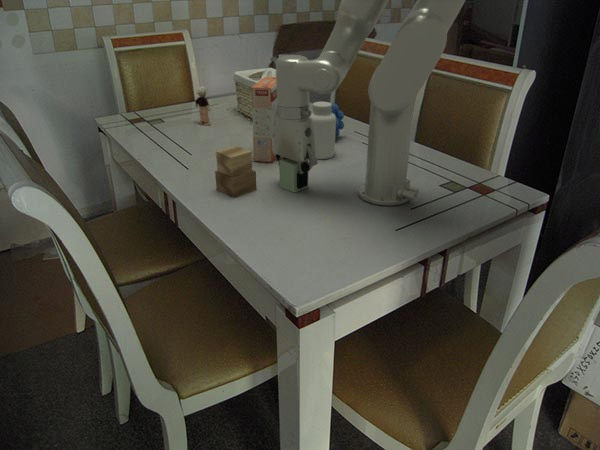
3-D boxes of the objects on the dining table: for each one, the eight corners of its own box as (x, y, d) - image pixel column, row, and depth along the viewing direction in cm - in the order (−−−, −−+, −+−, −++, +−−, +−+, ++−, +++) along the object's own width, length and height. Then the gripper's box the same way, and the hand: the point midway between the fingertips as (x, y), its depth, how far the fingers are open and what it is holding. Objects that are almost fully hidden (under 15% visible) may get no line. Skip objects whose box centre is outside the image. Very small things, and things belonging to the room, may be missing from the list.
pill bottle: (326, 161, 142) (327, 108, 135) (301, 156, 146) (302, 104, 139) (339, 153, 148) (341, 102, 141) (315, 148, 152) (316, 98, 145)
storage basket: (233, 110, 190) (231, 70, 184) (272, 105, 197) (271, 66, 191) (260, 127, 172) (259, 83, 165) (302, 120, 179) (302, 78, 172)
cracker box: (274, 163, 141) (272, 87, 132) (253, 162, 142) (249, 86, 133) (285, 147, 153) (284, 76, 144) (266, 146, 154) (263, 75, 145)
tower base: (256, 190, 125) (255, 171, 123) (234, 198, 121) (232, 178, 119) (238, 182, 130) (237, 163, 127) (216, 190, 125) (215, 171, 123)
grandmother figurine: (216, 124, 175) (213, 86, 169) (209, 126, 172) (206, 89, 166) (200, 120, 179) (196, 84, 173) (192, 123, 176) (188, 86, 170)
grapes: (321, 146, 154) (322, 107, 148) (309, 140, 159) (309, 102, 153) (351, 139, 160) (353, 101, 154) (338, 134, 165) (339, 97, 159)
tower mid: (252, 171, 123) (251, 151, 121) (232, 177, 119) (231, 157, 117) (237, 164, 127) (236, 145, 125) (217, 170, 123) (215, 151, 121)
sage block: (308, 186, 127) (308, 160, 123) (294, 192, 123) (293, 165, 120) (294, 181, 130) (293, 155, 126) (279, 187, 127) (279, 160, 123)
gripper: (331, 115, 115) (329, 189, 123) (279, 102, 125) (281, 171, 134) (308, 122, 110) (308, 198, 118) (256, 108, 121) (260, 179, 129)
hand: (294, 183), depth 126 cm, fingers closed on sage block, 5 cm apart
